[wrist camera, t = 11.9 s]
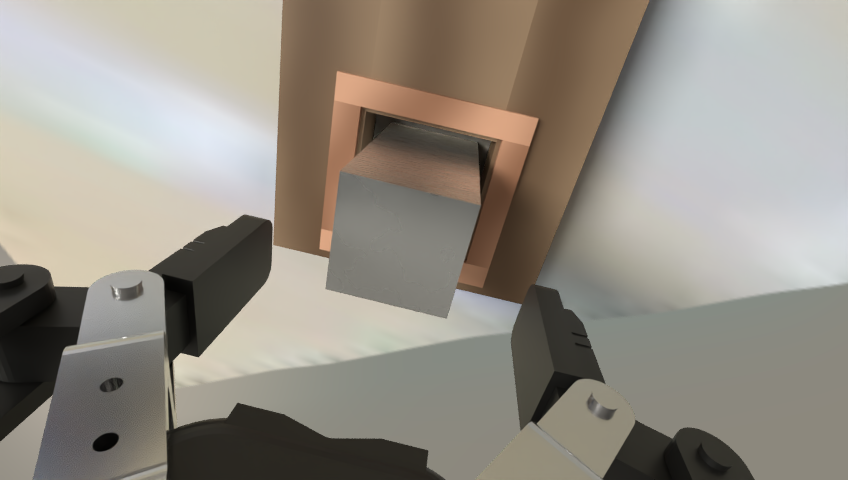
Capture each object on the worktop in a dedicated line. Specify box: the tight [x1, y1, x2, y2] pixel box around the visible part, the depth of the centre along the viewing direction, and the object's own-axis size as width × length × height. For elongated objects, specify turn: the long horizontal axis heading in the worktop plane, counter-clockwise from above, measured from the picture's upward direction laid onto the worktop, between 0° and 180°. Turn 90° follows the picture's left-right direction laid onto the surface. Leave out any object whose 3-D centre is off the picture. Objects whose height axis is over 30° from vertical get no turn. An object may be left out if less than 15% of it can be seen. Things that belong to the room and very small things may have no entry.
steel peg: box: [326, 122, 481, 319], centre depth 17 cm, size 4×4×9 cm
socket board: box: [273, 0, 649, 304], centre depth 17 cm, size 14×22×3 cm, turn 168°
